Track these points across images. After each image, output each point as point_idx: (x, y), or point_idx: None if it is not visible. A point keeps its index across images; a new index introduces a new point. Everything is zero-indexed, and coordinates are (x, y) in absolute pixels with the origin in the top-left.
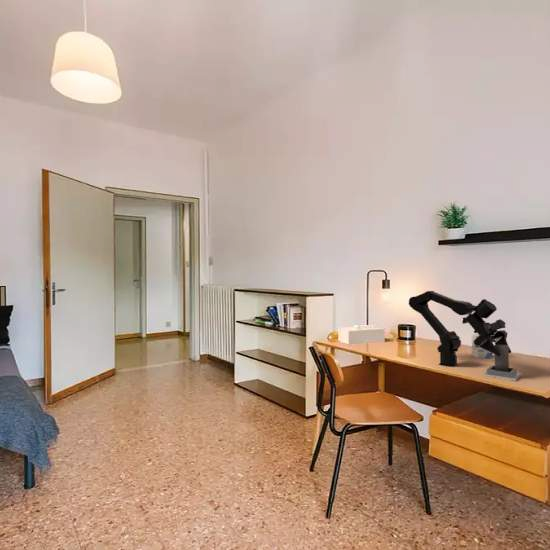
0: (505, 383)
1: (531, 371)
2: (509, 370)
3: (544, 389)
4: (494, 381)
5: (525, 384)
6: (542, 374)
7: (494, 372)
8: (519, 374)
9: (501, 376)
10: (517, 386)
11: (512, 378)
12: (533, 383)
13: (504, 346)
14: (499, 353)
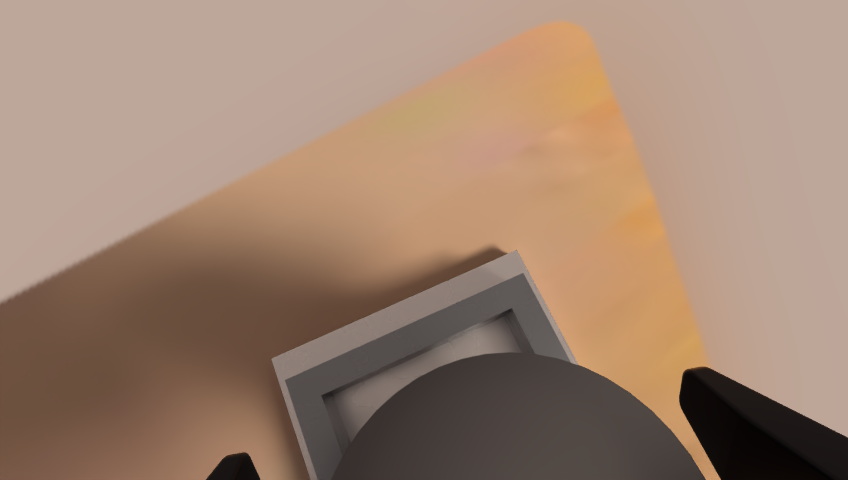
0: (654, 252)
1: (8, 420)
2: (343, 437)
3: (512, 43)
4: (700, 339)
5: (521, 166)
6: (60, 294)
7: None
8: (331, 332)
9: None
10: (632, 159)
11: (527, 272)
12: (435, 157)
13: (590, 391)
14: (728, 379)
